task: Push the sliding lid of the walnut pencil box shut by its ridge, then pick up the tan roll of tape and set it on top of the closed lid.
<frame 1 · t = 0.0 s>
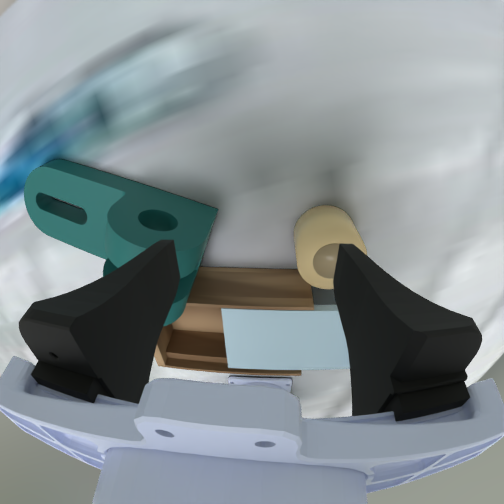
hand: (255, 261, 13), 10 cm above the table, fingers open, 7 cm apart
lid: (302, 349, 23), point 5 cm above the table, slide at 6.0 cm
tape roll: (324, 233, 23), on the table
bracket: (111, 210, 23), on the table, touching pencil box
pencil box: (230, 305, 28), on the table
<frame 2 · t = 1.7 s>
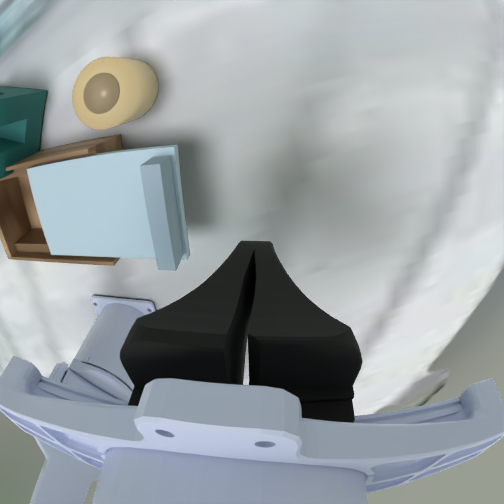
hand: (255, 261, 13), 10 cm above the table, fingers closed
lid: (91, 214, 18), point 5 cm above the table, slide at 6.0 cm
tape roll: (128, 90, 18), on the table
pencil box: (66, 192, 22), on the table
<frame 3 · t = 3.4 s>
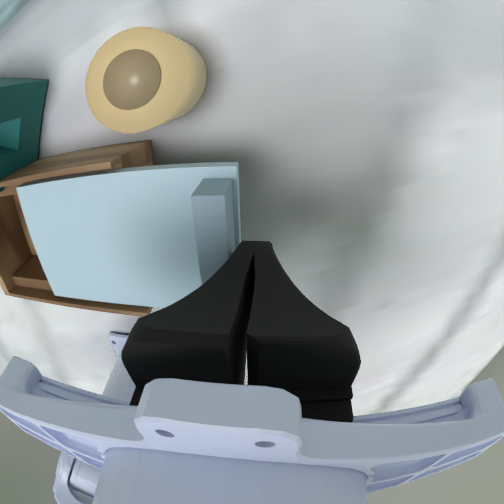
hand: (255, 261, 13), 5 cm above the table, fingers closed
lid: (109, 254, 13), point 5 cm above the table, slide at 5.5 cm, touching gripper
tape roll: (163, 79, 13), on the table
pencil box: (74, 213, 18), on the table
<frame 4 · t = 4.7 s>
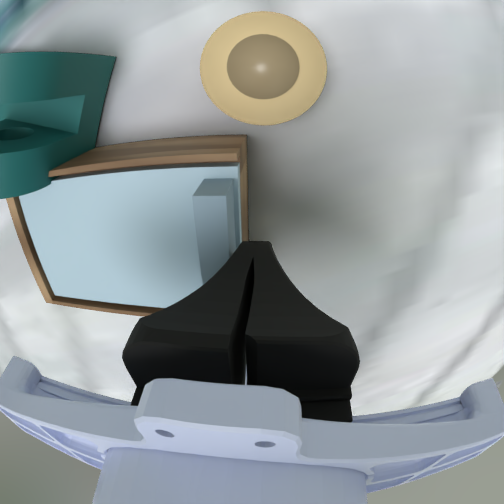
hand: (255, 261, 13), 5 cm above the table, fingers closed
lid: (109, 254, 13), point 5 cm above the table, slide at 0.0 cm, touching gripper
tape roll: (265, 72, 13), on the table
bracket: (14, 95, 13), on the table, touching pencil box
pencil box: (139, 210, 18), on the table
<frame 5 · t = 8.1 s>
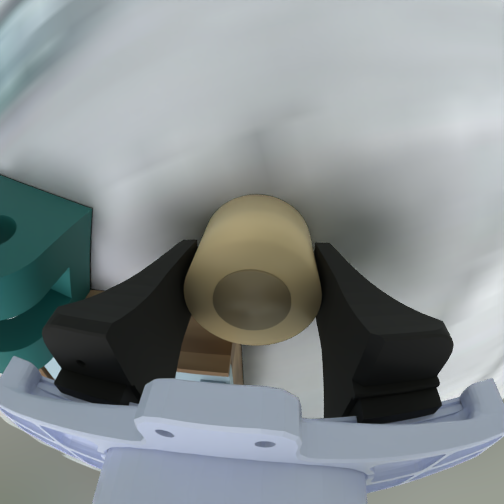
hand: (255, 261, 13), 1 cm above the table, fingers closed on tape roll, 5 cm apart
lid: (124, 406, 14), point 5 cm above the table, slide at 0.0 cm
tape roll: (257, 244, 14), on the table, touching gripper
pencil box: (141, 342, 18), on the table
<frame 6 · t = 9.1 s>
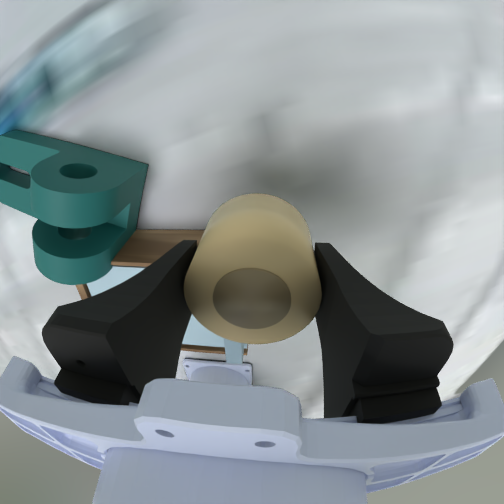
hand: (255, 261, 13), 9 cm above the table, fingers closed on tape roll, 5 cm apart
lid: (159, 315, 21), point 5 cm above the table, slide at 0.0 cm
tape roll: (257, 243, 14), point 8 cm above the table, touching gripper
bracket: (56, 175, 21), on the table, touching pencil box
pencil box: (171, 274, 25), on the table
when the fingers open (7 cm above the table, at t = 10.6 s): tape roll drops 1 cm, resting on lid.
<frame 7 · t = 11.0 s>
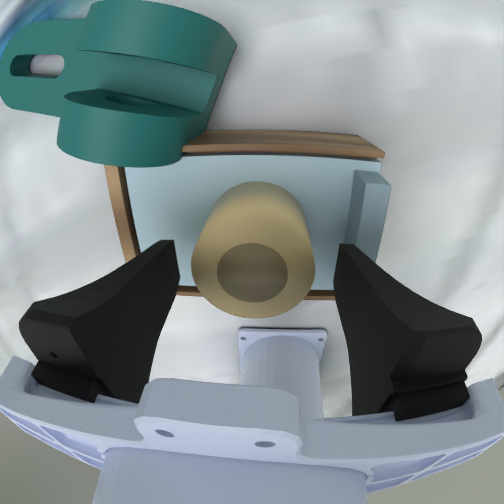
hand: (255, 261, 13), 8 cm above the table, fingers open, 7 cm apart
lid: (249, 235, 14), point 5 cm above the table, slide at 0.0 cm, touching tape roll
tape roll: (257, 227, 15), point 5 cm above the table, touching lid
bracket: (96, 68, 14), on the table, touching pencil box
pencil box: (246, 197, 19), on the table
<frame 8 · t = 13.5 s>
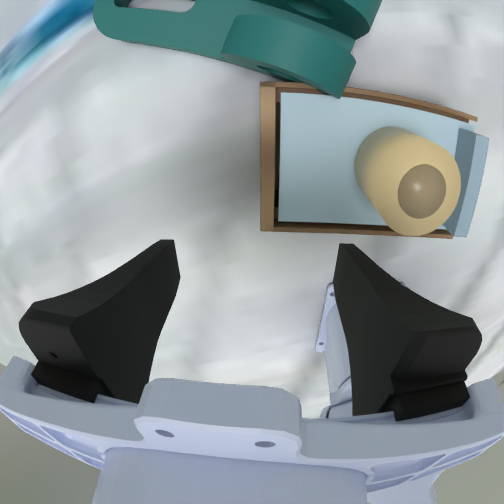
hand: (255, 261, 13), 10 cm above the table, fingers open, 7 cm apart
lid: (390, 170, 15), point 5 cm above the table, slide at 0.0 cm, touching tape roll
tape roll: (392, 166, 15), point 5 cm above the table, touching lid
bracket: (218, 15, 15), on the table, touching pencil box
pencil box: (357, 149, 19), on the table
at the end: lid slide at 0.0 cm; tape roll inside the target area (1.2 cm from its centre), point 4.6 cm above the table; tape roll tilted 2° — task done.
